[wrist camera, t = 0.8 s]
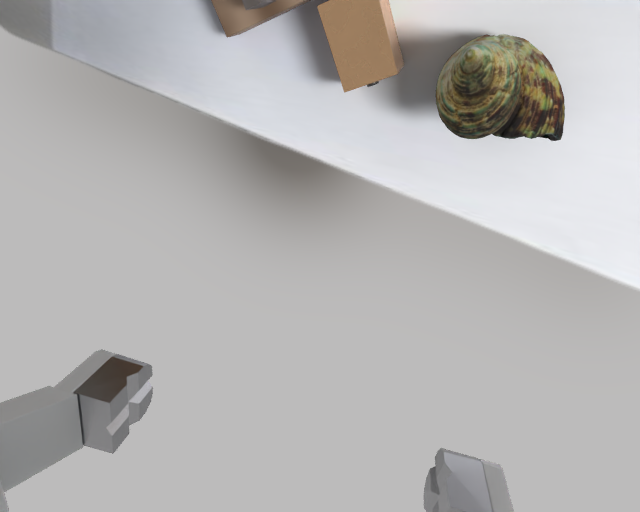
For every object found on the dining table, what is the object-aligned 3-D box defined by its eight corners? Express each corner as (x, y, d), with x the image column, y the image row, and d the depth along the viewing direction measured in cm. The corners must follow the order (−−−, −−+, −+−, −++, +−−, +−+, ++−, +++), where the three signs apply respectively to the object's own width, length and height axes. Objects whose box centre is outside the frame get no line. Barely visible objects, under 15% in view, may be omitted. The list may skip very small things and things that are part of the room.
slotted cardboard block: (383, -21, 39) (373, -21, 35) (405, 67, 42) (398, 77, 38) (331, 3, 41) (317, 6, 37) (356, 84, 45) (345, 95, 41)
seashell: (453, 153, 46) (450, 190, 38) (429, 49, 41) (420, 67, 33) (559, 125, 41) (580, 161, 33) (547, 4, 36) (569, 12, 28)
